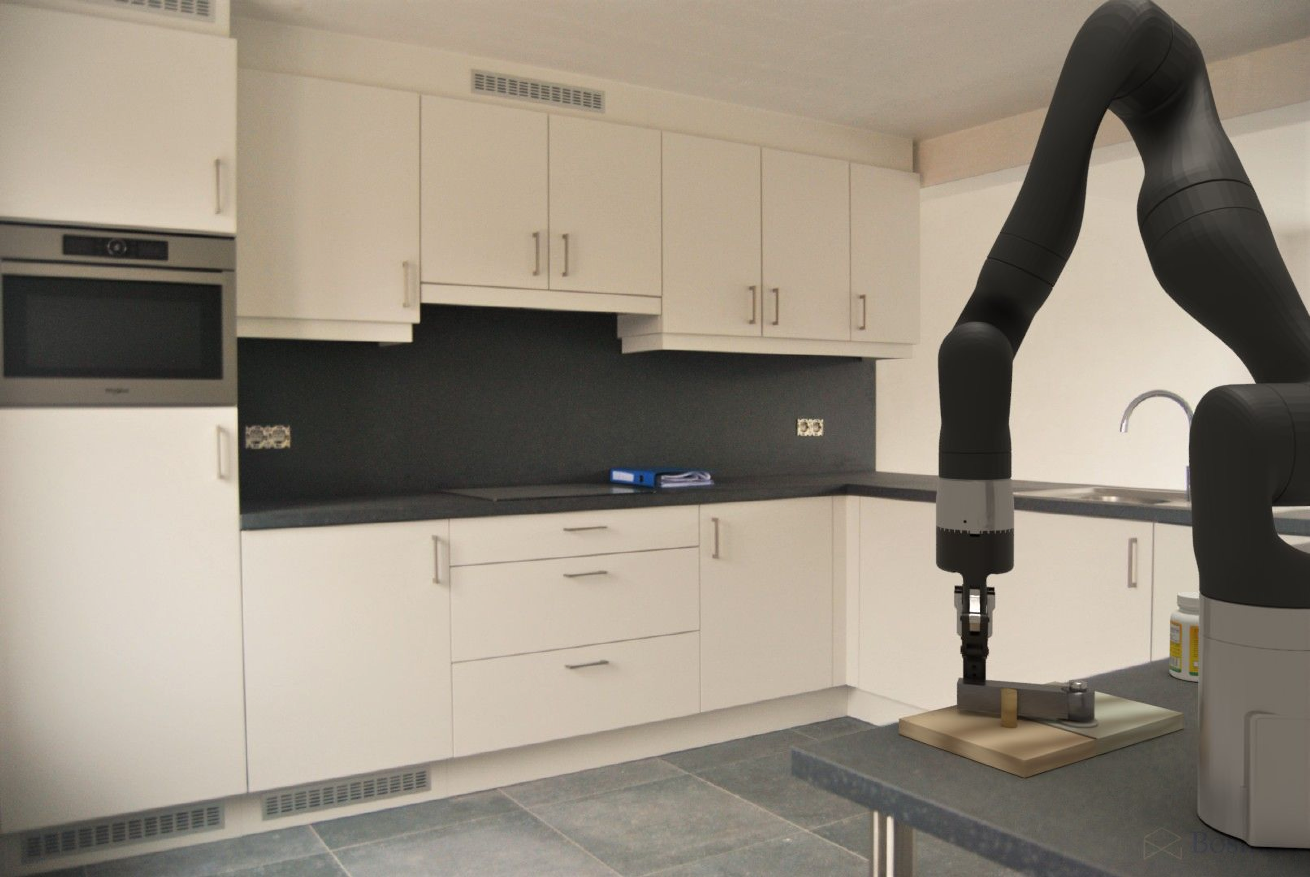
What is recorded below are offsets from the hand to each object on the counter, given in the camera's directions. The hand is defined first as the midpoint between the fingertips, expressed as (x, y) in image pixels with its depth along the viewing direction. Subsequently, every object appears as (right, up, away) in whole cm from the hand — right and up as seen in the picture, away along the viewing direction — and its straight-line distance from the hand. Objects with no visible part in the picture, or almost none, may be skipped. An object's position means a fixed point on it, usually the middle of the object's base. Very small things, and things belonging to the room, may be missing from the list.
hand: (974, 693), depth 106 cm
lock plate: (+5, -3, -4) cm, 7 cm away
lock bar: (+3, -1, -5) cm, 6 cm away
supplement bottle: (+30, -2, +16) cm, 34 cm away
